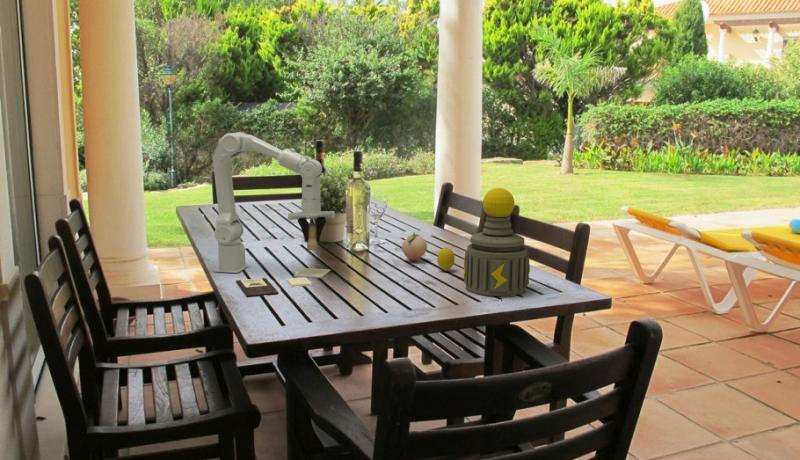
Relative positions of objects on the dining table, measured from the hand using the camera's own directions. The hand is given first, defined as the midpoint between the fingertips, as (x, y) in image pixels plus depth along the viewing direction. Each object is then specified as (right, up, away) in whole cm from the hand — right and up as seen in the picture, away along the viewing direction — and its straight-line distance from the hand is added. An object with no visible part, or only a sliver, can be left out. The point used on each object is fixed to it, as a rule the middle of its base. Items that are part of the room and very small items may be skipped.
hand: (311, 241), depth 231 cm
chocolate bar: (-14, -14, -16) cm, 25 cm away
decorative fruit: (+33, -7, +20) cm, 39 cm away
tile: (-4, -12, -6) cm, 14 cm away
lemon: (+42, -10, +7) cm, 44 cm away
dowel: (0, -2, 0) cm, 2 cm away
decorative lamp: (+56, -14, -15) cm, 59 cm away
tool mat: (0, -10, +2) cm, 10 cm away
